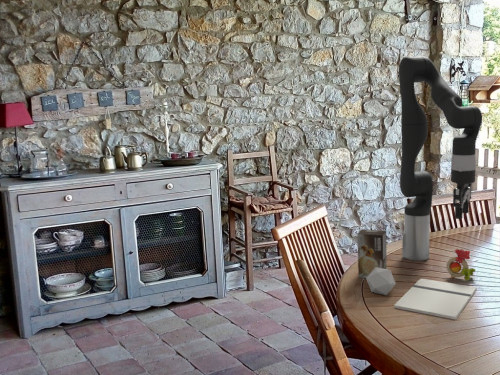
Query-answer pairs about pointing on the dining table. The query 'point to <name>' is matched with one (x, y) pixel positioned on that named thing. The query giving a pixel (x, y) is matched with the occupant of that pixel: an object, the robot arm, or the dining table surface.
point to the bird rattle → (456, 267)
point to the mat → (436, 298)
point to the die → (381, 281)
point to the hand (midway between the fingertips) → (461, 215)
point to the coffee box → (371, 251)
